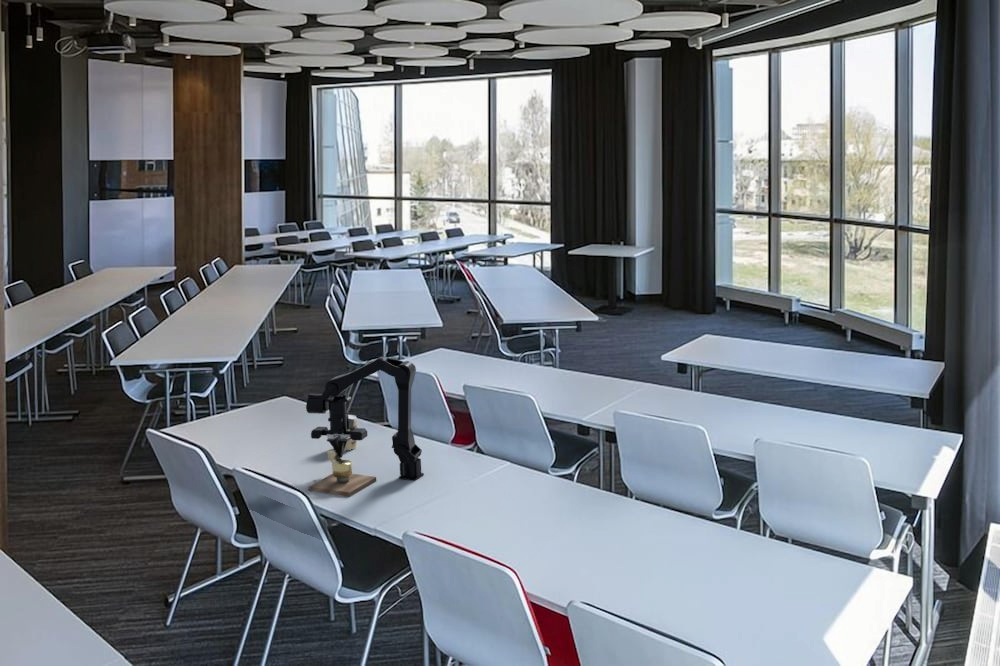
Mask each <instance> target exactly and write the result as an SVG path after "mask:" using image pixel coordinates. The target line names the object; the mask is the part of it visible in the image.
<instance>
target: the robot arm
mask: <svg viewBox="0 0 1000 666" xmlns="http://www.w3.org/2000/svg"><path fill="white" fill-rule="evenodd" d="M416 370H417V369H416V365H415V364H414V363H413V362H411V361H410V360H409V361H408V360H404V361H403V360H399V359H395V358H390V357H387V356H384V355H383V356H379V357H378V358H376V359H374V360H372V361H370V362H368V363H367V364H364V365H363V366H361V367H359V368H357V369H355V370H354V371H351V372H347V373H343V374H341V375H337V376H334V377H333V378H331V379H329V380H327V382H326V383H325V385H324V386H325V387H324V388H325V390H324V391H323V392H322V393H311V392H310V393H309V394H307V397H308V398H307V399H306V404H305V410H306V413H307V414H319V415H320V414H326V413H327V411H328V414H329V415H328V416H329V417H328V418H327V421H328V422H329V427H330V428H328V426H317V427H316V428H314V429H312V430H311V431H310V438H311V439H315V440H319V439H320V438H321V437H322V436H327V439H326V442H329V444H330V445H331V447H332V448H333V451H334V452H335V453H336V454H337V455H338V456H339V457H340V458H341V459H342V458H343V456H344V452H345V451H344V449H345V446H346V443H347V441H348V440H350V439H352V440H357V441H363V440H364V439H365V438H367V437H368V431H367V429H366V428H363V427H362V428H361V427H357V428H356V429H354V430H353V431H347V430H349V429H350V428H352V429H353V426H354V419H349V418H348V415H349V414H347V408H346V407H347V403H348V402H349V401H351V400H352V397H351V396H349V395H348V393H345V394H343V395H340V394H342V393H343V392H344V391H346V390H347V389H348V388H350V387H351V386H352V385H354V384H355V383H357V382H359V381H362V380H363V379H365V378H368V377H369V376H371V375H373V374H375V373H377V372H379V371H381V372H383V373H385V374H387V375H389V376H390V377H394V382H395V385H396V388H397V391H398V393H397V397H398V398H397V399H398V400H397V402H398V403H397V404H398V406H397V427H398V428H397V431H396V432H395V433H394V434H393V435H392V437H391V440H392V445H391V449H393V452H394V454H395V455H396V456H397V457H398V460H399V462H400V463H399V476H398V478H399V479H403V480H408V481H409V480H411V481H416V480H418V479H420V478H421V477H423V476H424V475H425V473H423V472H422V459H421V458H420V456H421V455H422V453H423V452H422V449H421V448H420V447H419V446H418V444H416V442H415V435H414V433H413V430H412V388H413V384H414V382H415V377H416V372H417V371H416ZM341 433H344V434H341ZM340 438H341V439H340Z"/></svg>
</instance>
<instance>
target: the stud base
mask: <svg viewBox="0 0 1000 666" xmlns="http://www.w3.org/2000/svg"><path fill="white" fill-rule="evenodd" d="M375 482H377V477H376V476H374V475H365V474H357V473H352V475H351V476H348V477H343V478H337V477H334V476H333V473H332V474H329V475H327V476H326V477H324V478H322V479H321V480H318V481H316V482H315V483H313V484H310V485H308V491H309V492H313V491H315V493H321V494H329V495H335V496H343V497H347V498H348V497H349V498H350V497H352V496H354V495H355V494H357V493H358V492H360V491H362V490H364V489H366V488H367V487H369V486H370V485H373V484H374V483H375Z"/></svg>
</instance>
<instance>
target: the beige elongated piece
mask: <svg viewBox="0 0 1000 666" xmlns="http://www.w3.org/2000/svg"><path fill="white" fill-rule="evenodd" d="M326 453H327V460H329V461H330V463H331V469H332V474H333V476H334V477H337V478H343V477H348V476H351V475H352V474H353V467H352V461H351V460H350V459H342V458H340V457H339V456H338V455H337V453H336V451H335V450H328V451H327V452H326Z"/></svg>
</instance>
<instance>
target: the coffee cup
mask: <svg viewBox="0 0 1000 666" xmlns="http://www.w3.org/2000/svg"><path fill="white" fill-rule="evenodd" d="M347 415H348V418H349V419H354V426H353V429H352V428H350V429H349V430H347V431H353V430H354V429H356V428H358V426H357V425H358V423H357V422H358V418H357V416H356V415H354V414H347ZM341 434H344V433H341ZM340 439H341V438H340ZM357 441H358V440H352V439H350V440H348V441H347V443H346V446H345V449H344V450H350V449H354V448H356V449H357V444H358V443H357ZM354 450H355V449H354Z"/></svg>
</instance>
